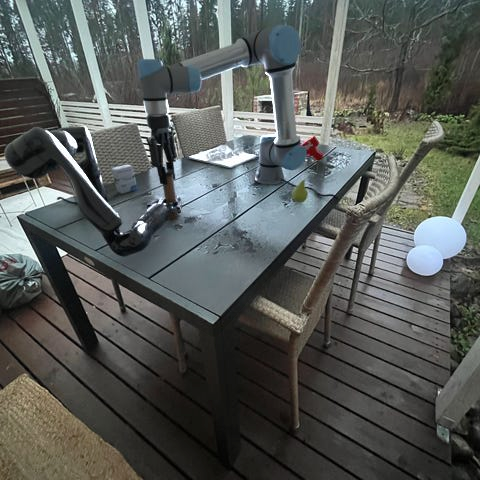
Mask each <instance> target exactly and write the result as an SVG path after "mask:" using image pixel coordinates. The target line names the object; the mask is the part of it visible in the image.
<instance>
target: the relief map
mask: <svg viewBox="0 0 480 480" xmlns="http://www.w3.org/2000/svg"><path fill="white" fill-rule="evenodd" d="M256 158H257V155H256V154H252V153H251V154H250V153H247V152H245V151H244V150H243V149H242V148H241V147H239V148H237V149H232V148H230V147H229V146H228V145H227V144H222V143H221V144H220V145H218V146H216V147H214V148H212V149H208V150H205V151H199V152H198V153H197V154H192V155H190V156H188V159H190V160H194V161H199V162H202V163H207V164H211V165H215V166H219V167H223V168H228V169H233V168H235V167H237V166H239V165H242V164H245V163H247V162H249V161H252V160H254V159H256Z"/></svg>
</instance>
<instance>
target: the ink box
mask: <svg viewBox="0 0 480 480" xmlns="http://www.w3.org/2000/svg"><path fill="white" fill-rule="evenodd" d="M110 170H111V173H112V176H113V181H114V184H115V188H116V191H117V192H118V193H119V194H121V195H122V194H126V193H130V192H132V191H133V192H134V191H136V190H138V185H137V181H136V177H135V171H134V167H133V165H130V164H124V165H120V166H119V165H118V166H115V167H111V168H110Z"/></svg>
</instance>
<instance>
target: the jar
mask: <svg viewBox="0 0 480 480" xmlns="http://www.w3.org/2000/svg"><path fill="white" fill-rule="evenodd" d="M167 183H168V184H167V185H165V184H162V187H163V193H164V197H165V200H166V203H168V202H170V201H174V200H175V199H176V198H177V196H176V188H175V182H174V180H173V175H172V176H167ZM174 205H175V204H174ZM177 218H179V214H178V212H173V213H172V214H170V216H169V218H168V219H177Z"/></svg>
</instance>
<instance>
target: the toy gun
mask: <svg viewBox="0 0 480 480" xmlns="http://www.w3.org/2000/svg"><path fill="white" fill-rule="evenodd" d="M319 144H320V141H319V140H318V138H317V137H316V136H315V135H313V136H311V137H310V138H308V139H306V140H305V141H304V142H302V143H301V145H302V146H304V147H305V149H306V158H309V157H310V156H311V157H313V158H314V159H315V160H316V162H317V163H319V161H317V160H320V159H321V161H323V158H324V154H323V153H322V152H320V151H319V149H317V147H318V146H319Z"/></svg>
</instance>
